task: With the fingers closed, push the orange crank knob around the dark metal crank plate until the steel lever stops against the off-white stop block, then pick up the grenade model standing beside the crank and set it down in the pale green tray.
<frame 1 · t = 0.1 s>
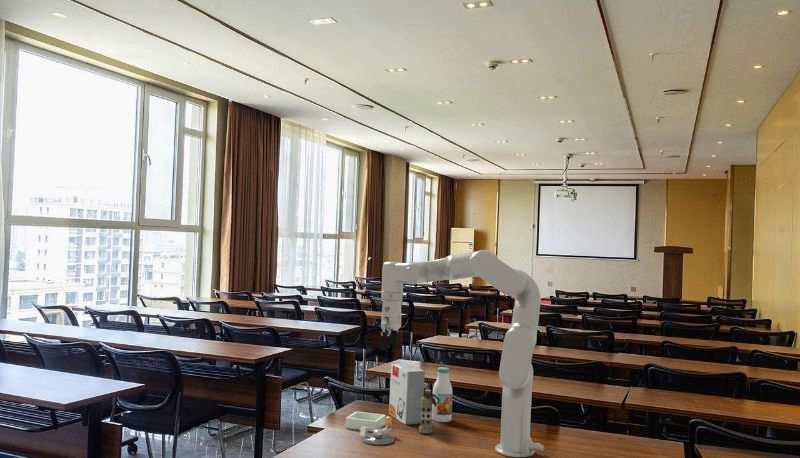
hand: (389, 345, 234), 31 cm above the table, tool pointing down, fingers open, 9 cm apart
grenade model: (428, 432, 238), on the table
tray: (365, 426, 243), on the table
milk bottle: (441, 420, 257), on the table
crank base: (377, 440, 225), on the table
crank lever: (383, 426, 228), point 4 cm above the table, hinge at -100.0°
hard drive box: (405, 419, 256), on the table
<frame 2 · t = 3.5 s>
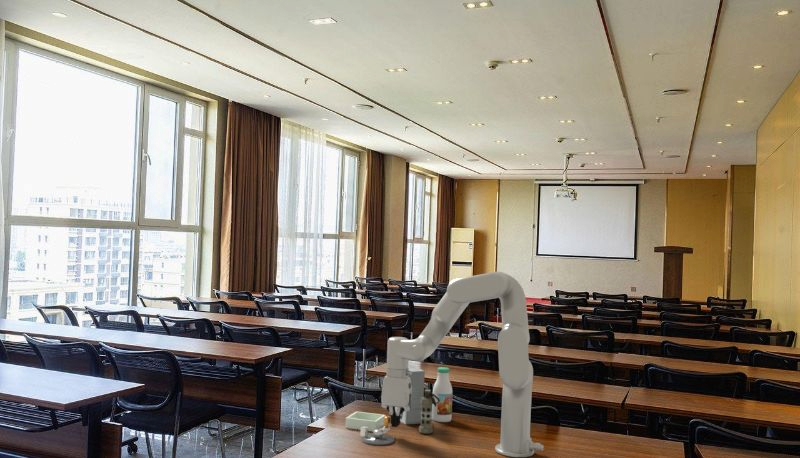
hand: (395, 426, 231), 4 cm above the table, tool pointing down, fingers closed
crank lever: (382, 426, 229), point 4 cm above the table, hinge at -94.4°, touching gripper
everything else where it was.
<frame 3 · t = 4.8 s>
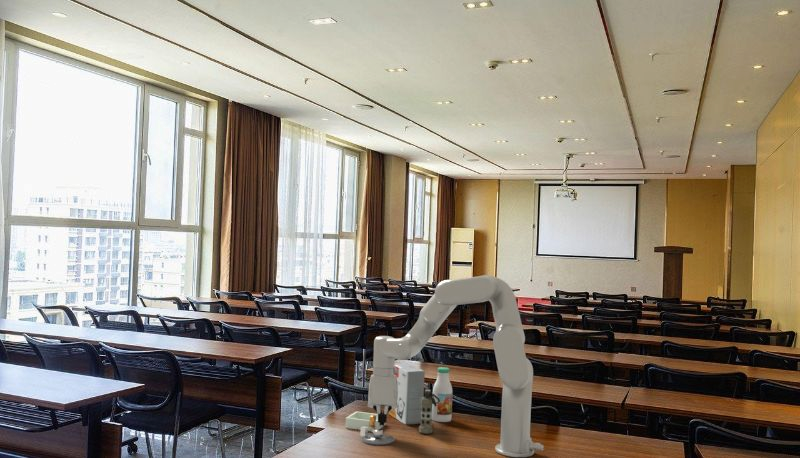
hand: (382, 424, 233), 4 cm above the table, tool pointing down, fingers closed
crank lever: (375, 426, 229), point 4 cm above the table, hinge at -55.2°, touching gripper
everything else where it was.
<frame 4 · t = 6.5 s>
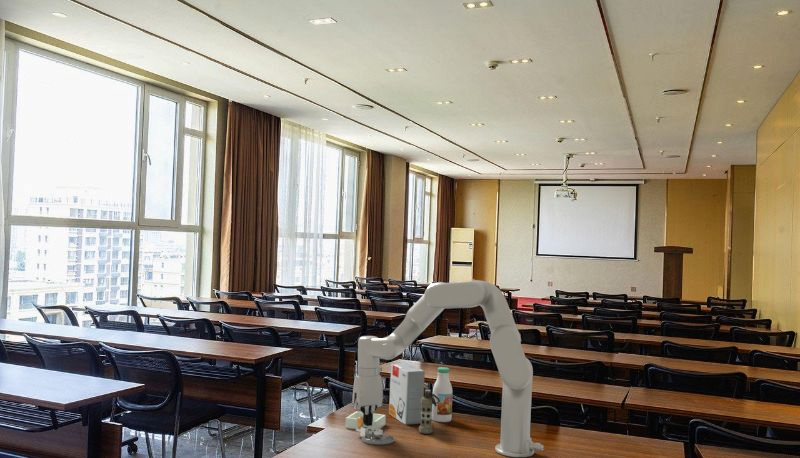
hand: (367, 425, 231), 3 cm above the table, tool pointing down, fingers closed
crank lever: (369, 427, 227), point 4 cm above the table, hinge at -14.4°, touching crank base, gripper
everything else where it was.
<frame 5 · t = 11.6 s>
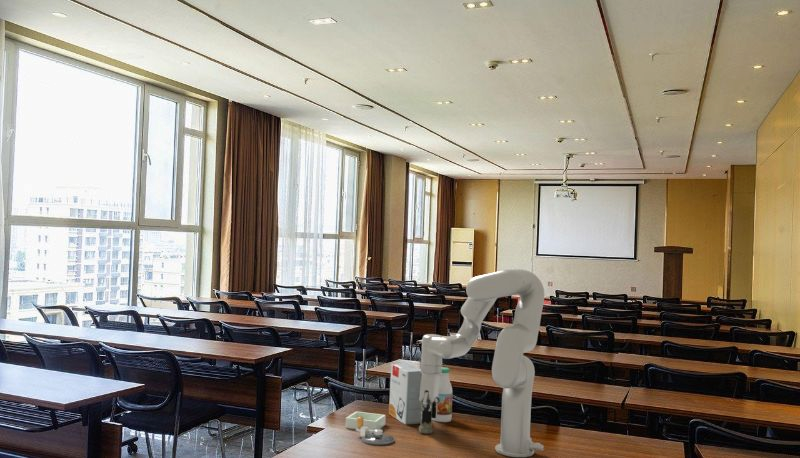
hand: (429, 419, 239), 5 cm above the table, tool pointing down, fingers closed on grenade model, 5 cm apart
grenade model: (428, 432, 238), on the table, touching gripper
crank lever: (369, 427, 227), point 4 cm above the table, hinge at -14.4°, touching crank base
everything else where it was.
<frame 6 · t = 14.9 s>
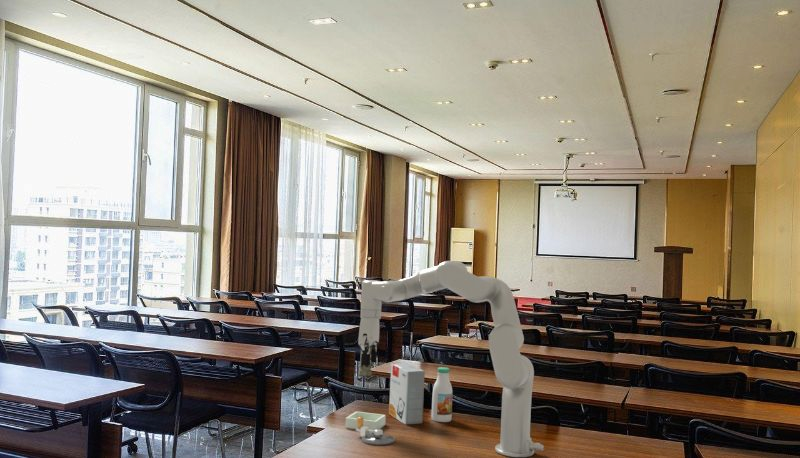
hand: (368, 363, 243), 23 cm above the table, tool pointing down, fingers closed on grenade model, 5 cm apart
grenade model: (368, 376, 243), point 18 cm above the table, touching gripper
everything else where it was.
when the fingers open (6 cm above the table, at t = 18.5 s): grenade model stays where it is, resting on tray.
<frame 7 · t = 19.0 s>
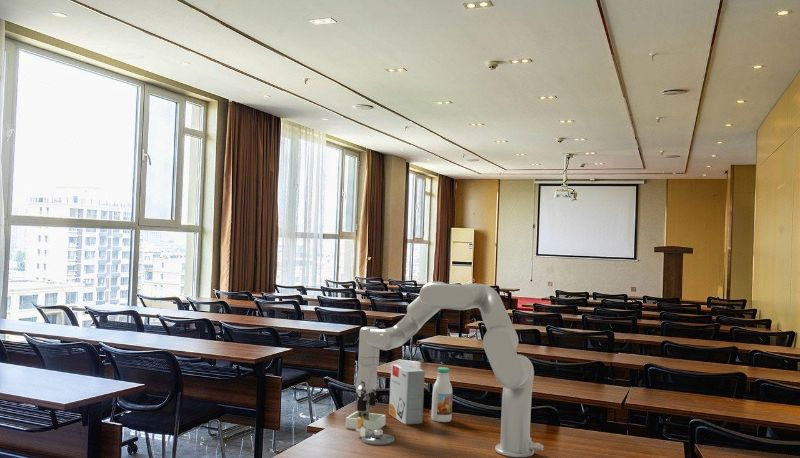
hand: (366, 408, 243), 7 cm above the table, tool pointing down, fingers open, 9 cm apart
grenade model: (365, 425, 242), resting on tray
everything else where it was.
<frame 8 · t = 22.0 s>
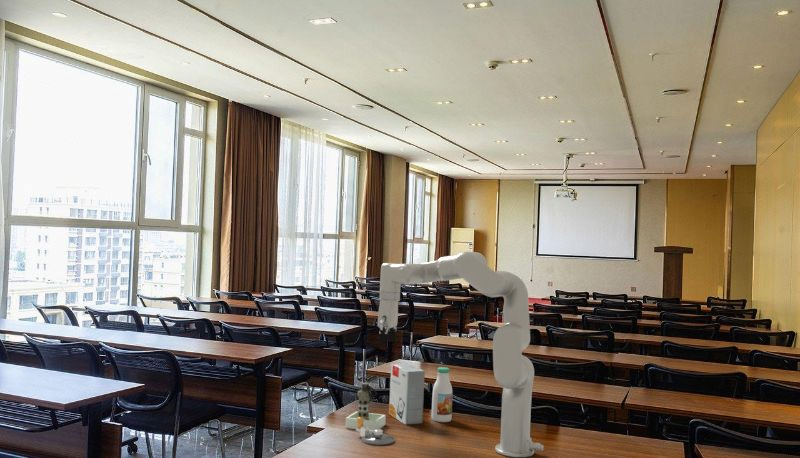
hand: (387, 343, 245), 30 cm above the table, tool pointing down, fingers open, 9 cm apart
nothing on the table moved.
at the end: crank lever at -14° (first picture: -100°); grenade model inside the target area on the tray (0.2 cm from its centre), point 0.4 cm above the tray's base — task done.
